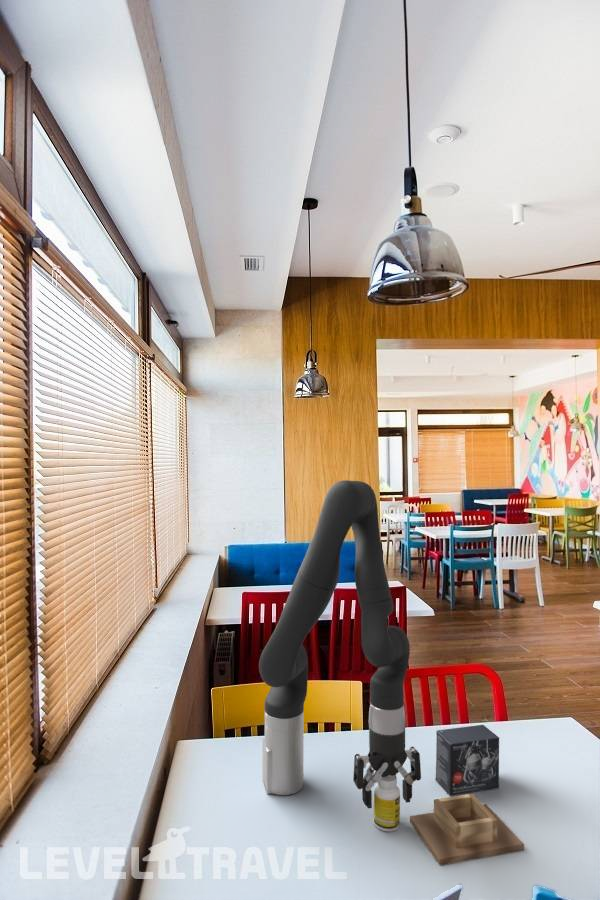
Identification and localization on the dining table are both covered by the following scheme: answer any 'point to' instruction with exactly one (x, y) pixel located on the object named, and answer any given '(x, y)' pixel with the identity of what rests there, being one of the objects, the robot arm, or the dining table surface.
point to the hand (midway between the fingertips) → (387, 803)
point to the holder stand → (464, 830)
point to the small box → (467, 759)
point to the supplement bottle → (387, 804)
